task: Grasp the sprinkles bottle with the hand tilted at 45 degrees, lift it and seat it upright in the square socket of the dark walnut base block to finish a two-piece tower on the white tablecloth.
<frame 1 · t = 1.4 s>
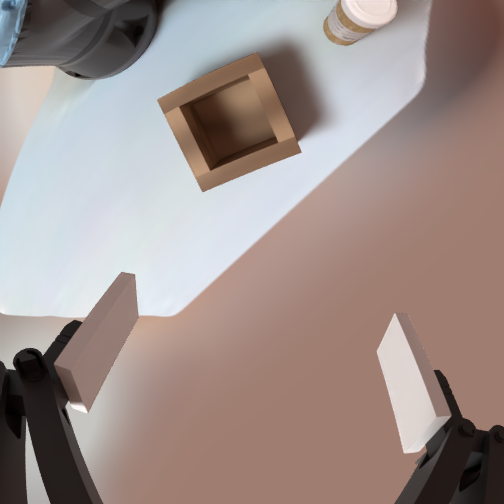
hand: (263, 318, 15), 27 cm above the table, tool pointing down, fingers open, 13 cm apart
sprinkles bottle: (340, 29, 30), on the table
walnut socket block: (236, 118, 36), on the table
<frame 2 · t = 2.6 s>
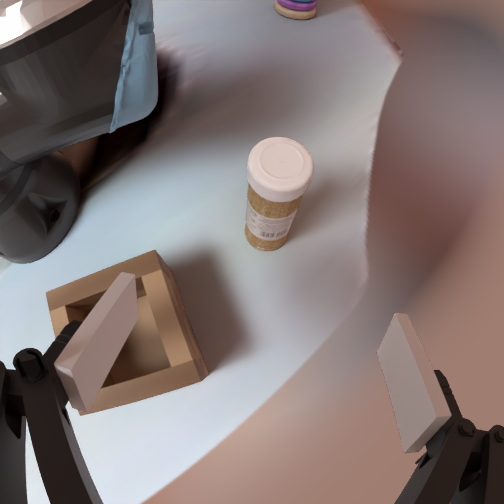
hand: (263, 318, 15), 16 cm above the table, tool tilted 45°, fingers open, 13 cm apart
sprinkles bottle: (265, 232, 34), on the table
stacking toy: (294, 12, 48), on the table
walnut socket block: (138, 339, 30), on the table
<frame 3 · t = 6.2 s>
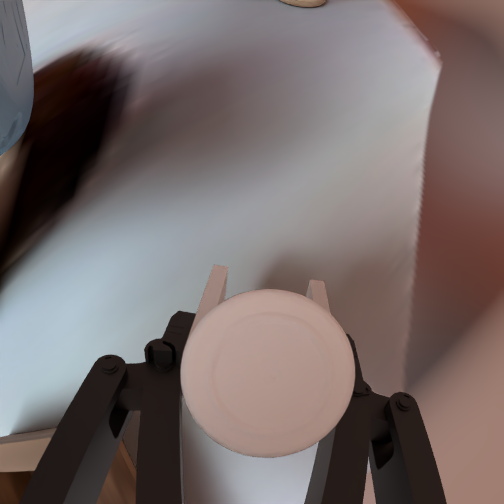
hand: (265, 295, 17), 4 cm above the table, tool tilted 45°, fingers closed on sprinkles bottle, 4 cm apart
sprinkles bottle: (251, 362, 20), on the table, touching gripper
walnut socket block: (82, 492, 16), on the table
when the fingers open (9 cm above the table, at t = 11.6 s): sprinkles bottle drops 3 cm, resting on walnut socket block.
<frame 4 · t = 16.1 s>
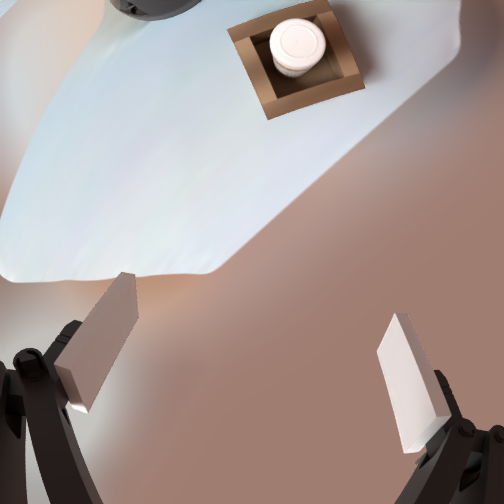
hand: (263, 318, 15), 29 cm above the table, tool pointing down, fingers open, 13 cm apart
sprinkles bottle: (291, 62, 33), point 1 cm above the table, touching walnut socket block
walnut socket block: (294, 63, 34), on the table
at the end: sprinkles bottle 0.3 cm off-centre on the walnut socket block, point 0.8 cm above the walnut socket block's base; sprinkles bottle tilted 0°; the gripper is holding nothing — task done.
